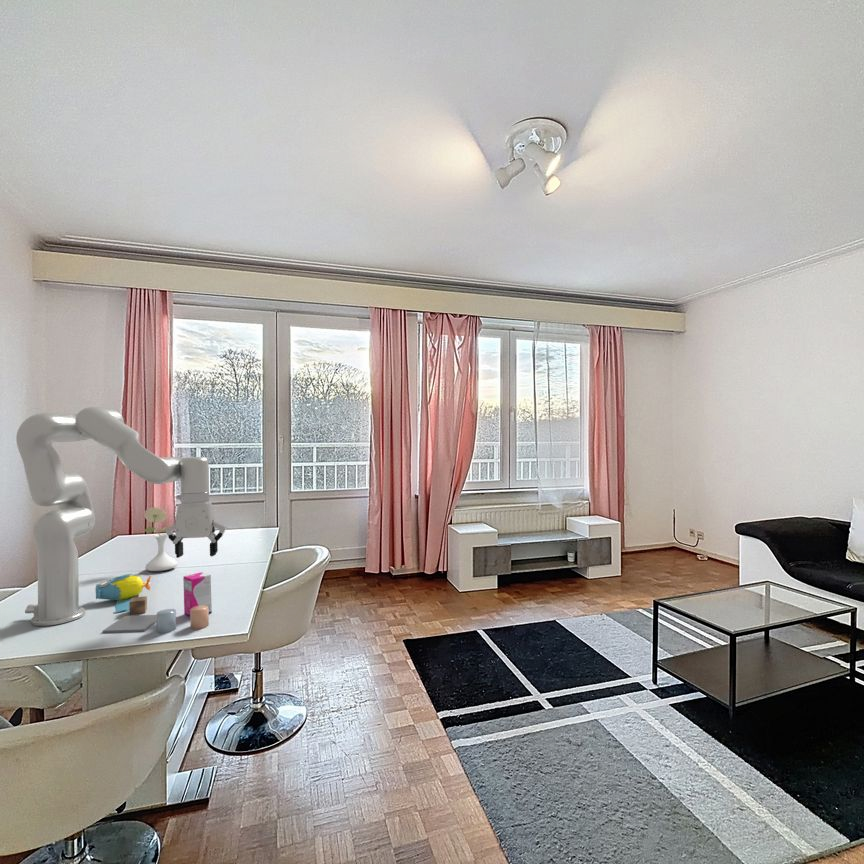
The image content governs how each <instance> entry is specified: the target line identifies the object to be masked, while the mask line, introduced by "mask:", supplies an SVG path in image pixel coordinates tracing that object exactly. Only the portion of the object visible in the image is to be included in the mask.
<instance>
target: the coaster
mask: <svg viewBox="0 0 864 864" xmlns="http://www.w3.org/2000/svg"><path fill="white" fill-rule="evenodd" d="M155 624H157V614H136V615H124V616H123V617H121V618H120V619H118V620H116V621H115V622H114V623H112V624H110V625H109V626H108V627H106V628H105V629H103V630H102V634H109V633H111V634H112V633H135V632H137V633H138V632H139V633H140V632H144V633H145V632H146V631H147V630H149V629H150V628H151V627H152V626H154V625H155Z"/></svg>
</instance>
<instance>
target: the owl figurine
mask: <svg viewBox="0 0 864 864" xmlns="http://www.w3.org/2000/svg"><path fill="white" fill-rule="evenodd" d="M151 578H152V576H151V575H150V576H148V578H147V579H146V581H145V582H143V579H142V578H141V577H140V576H139V575H132V573H128V574H124V575H123V574H122V575H120V576H116V577H115V578H113V579H108V580H105V581H102V582H100V583H99V584H98V583H97V584H95V588H94V589H95V590H94V591H95V599H96V600H97V599H99V600H100V599H101V600H108V601H109V600H110V601H111V600H112V601H116V602H115V605H114V608H115V609H114V610H115V611H113V612H112V614H113V615H115V614H118V613H128V612H129V613H130V605H129V602H130V600H131V598H136V597H140V594H141V593H142V592H143V588H145V589H147V590H148V591H151Z"/></svg>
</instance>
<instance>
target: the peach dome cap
mask: <svg viewBox="0 0 864 864" xmlns="http://www.w3.org/2000/svg"><path fill="white" fill-rule="evenodd" d="M209 616H210V614H209V607H208V606H206V605H201V606H196V607H193V608H191V609H190V617H189V621H190V623H189V624H190V627H189V628H190V629H191V630H202V629H205V628H207V627H209V625H210V624H209V623H210V621H209V620H210V619H209V618H210V617H209Z"/></svg>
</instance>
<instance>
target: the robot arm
mask: <svg viewBox="0 0 864 864" xmlns="http://www.w3.org/2000/svg"><path fill="white" fill-rule="evenodd" d="M15 437H16V440H15V441H16V445H17V449H18V452H19V455H20V458H21V460H22V463H23V467H24V468H23V469H24V471H25V477H26V480H27V485H28V488H29V489H28V490H29V493H30V497H31V499H32V502H34V504H36V505H37V506H40V507H45V508H46V507H54V506H58V508H59V509H55V510H54V509H53V510H51V511H47V512H45V513H44V514H42V515H40V516H39V517H38V518H37V519H36V521H35V523H34V525H33V528H32V529H33V530H32V533H33V534H32V535H33V539H34V544H35V546H36V554H37V555H36V556H37V557H36V558H37V604H28V605H27V606H26V608H25V610H24V613H25V614H33V616H32V618H31V619H30V624H31V625H33V626H36V627H43V626H44V627H46V626H49V627H50V626H55V625H61V624H65V623H69V622H72V621H75V620H78V619H80V618H81V617H83V616H84V615H85V614H86V608H84V607H82V606H81V607H79V606H80V604H79V602H80V601H79V600H80V598H79V591H80V590H79V553H78V548H77V546H76V543H75V541H74V539H77V538H80V537H82V536H86V534H88V533H90V532H91V531H92V530H93V528H94V527H95V524H96V512H95V508H94V505H93V501H92V497H91V494H90V493H91V492H90V489H89V485H88V484H87V481H86V480H85V479H84V477H83V476H81V475H80V474H79V473H76V472H73V471H66V472H64V469H63V466H62V462H61V461H62V460H61V457H60V456H59V454H58V452H57V451H56V449H55V447H53V445H52V444H53V443H63V442H64V443H65V442H66V443H67V442H69V443H70V442H72V443H73V442H81V441H86V440H87V441H88V440H93V441H94V442H96V443H98V444H99V445H101V446H103V447H105V448H106V449H107V450H109V451H111V452H112V453H113V454H115V455H116V456H117V458H118V460H119V461H120V462H121V463H122V464H123V466H125V468H127V469H128V470H129V471H131V473H133V474H134V475H136V476H138V477H140V478H141V479H142V480H145V482H147V483H151V484H154V485H162V484H167V483H173V482H179V481H180V494H178V495H176V500H179V501H180V503H178V504H177V510H176V515H175V516H176V517H175V524H172V525H170V526H168V527H167V528H166V529H165V530H164V532H165V534H167V535H168V536H167V538H168V539H169V540H170V541H171V542H172V544H174V554H175V555H176V556H175V557H176V558H177V559H178V558H181V557H183V556H184V543H183V539H195V538H196V539H197V538H208V540H209V541H210V543H209V556H210V557H214V556H216V555H217V553H218V551H219V549H218V548H219V547H218V541H220V539H221V538H222V537H223V536H224V534H225V532H226V530H227V526H226V525H224V524H222V523H220V522H217V521H216V520H215V512H214V508H213V507H214V506H213V504H212V502H211V501H210V475H209V473H210V472H209V460H208V458H207V457H204V456H189V457H188V456H187V457H179V456H166V457H165V456H164V457H160V456H158V455H156V454H154V453H153V452H151V451H150V450H148V449H147V448H145V447H144V446H143V445H142V444H141V443H140V441H139V440H140V434H139V432H138V431H137V430H135V429H134V428H132V427H130V426H129V425H128V424H126V423H125V420H124V418H123V415H122V414H121V413H120V412H119V411H117V410H115V409H113V408H110V407H109V408H108V407H97V406H88V407H85V408H83V409H81V410H80V411H78V413H73V414H72V413H71V414H70V413H59V412H58V413H57V412H41V413H36V414H34V415H33V414H32V415H31V416H29V417H28V418H26V419H24V420H23V422H21V424H20V425H19V426H18V429H17V431H16V436H15ZM216 529H218V530H219V531H218V533H217V534H216ZM173 531H175V532H173Z"/></svg>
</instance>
